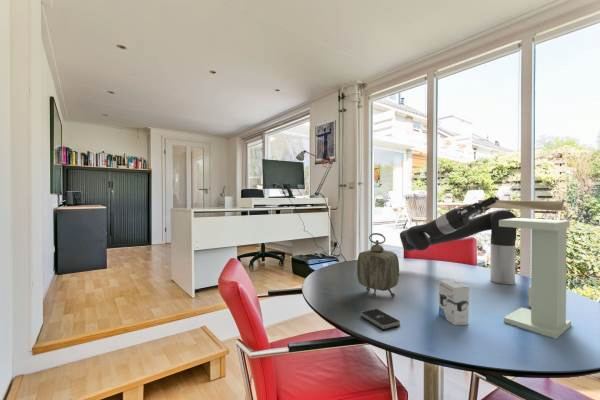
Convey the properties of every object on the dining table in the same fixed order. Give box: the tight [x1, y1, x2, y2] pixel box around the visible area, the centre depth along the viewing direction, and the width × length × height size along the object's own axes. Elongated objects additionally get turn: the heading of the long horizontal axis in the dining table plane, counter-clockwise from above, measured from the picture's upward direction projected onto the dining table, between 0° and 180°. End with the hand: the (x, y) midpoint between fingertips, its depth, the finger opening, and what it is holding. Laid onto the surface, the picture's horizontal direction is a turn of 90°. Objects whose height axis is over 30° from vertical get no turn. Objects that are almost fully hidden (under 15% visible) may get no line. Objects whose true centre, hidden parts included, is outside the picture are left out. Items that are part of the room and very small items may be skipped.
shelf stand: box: [499, 217, 572, 339], centre depth 87 cm, size 14×14×32 cm
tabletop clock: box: [356, 232, 400, 298], centre depth 111 cm, size 14×9×25 cm, turn 47°
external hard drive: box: [360, 308, 401, 332], centre depth 89 cm, size 7×11×2 cm, turn 25°
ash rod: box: [477, 199, 565, 211], centre depth 91 cm, size 3×22×3 cm, turn 34°
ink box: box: [438, 279, 470, 326], centre depth 90 cm, size 8×5×12 cm, turn 5°
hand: (496, 199), depth 96 cm, fingers closed on ash rod, 2 cm apart
